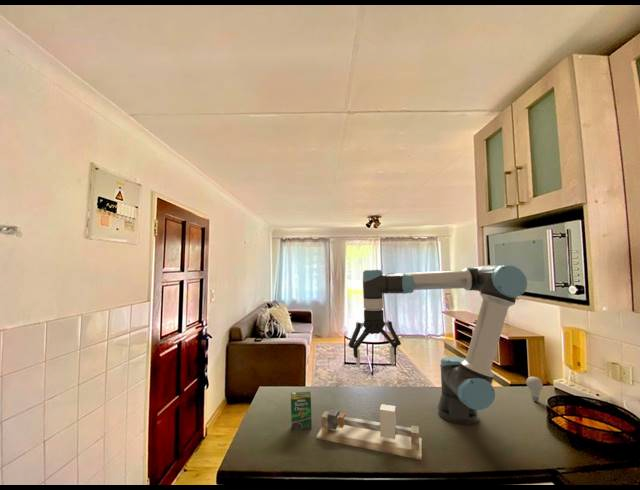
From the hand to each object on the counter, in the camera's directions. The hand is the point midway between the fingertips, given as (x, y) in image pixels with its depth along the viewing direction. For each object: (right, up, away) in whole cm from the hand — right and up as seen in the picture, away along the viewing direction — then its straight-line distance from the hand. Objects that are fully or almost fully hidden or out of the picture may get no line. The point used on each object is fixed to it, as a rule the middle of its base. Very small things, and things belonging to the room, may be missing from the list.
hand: (375, 365), depth 112 cm
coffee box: (-29, -25, 0) cm, 38 cm away
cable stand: (-4, -24, -7) cm, 25 cm away
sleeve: (+3, -21, -9) cm, 23 cm away
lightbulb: (+77, -26, +21) cm, 84 cm away
